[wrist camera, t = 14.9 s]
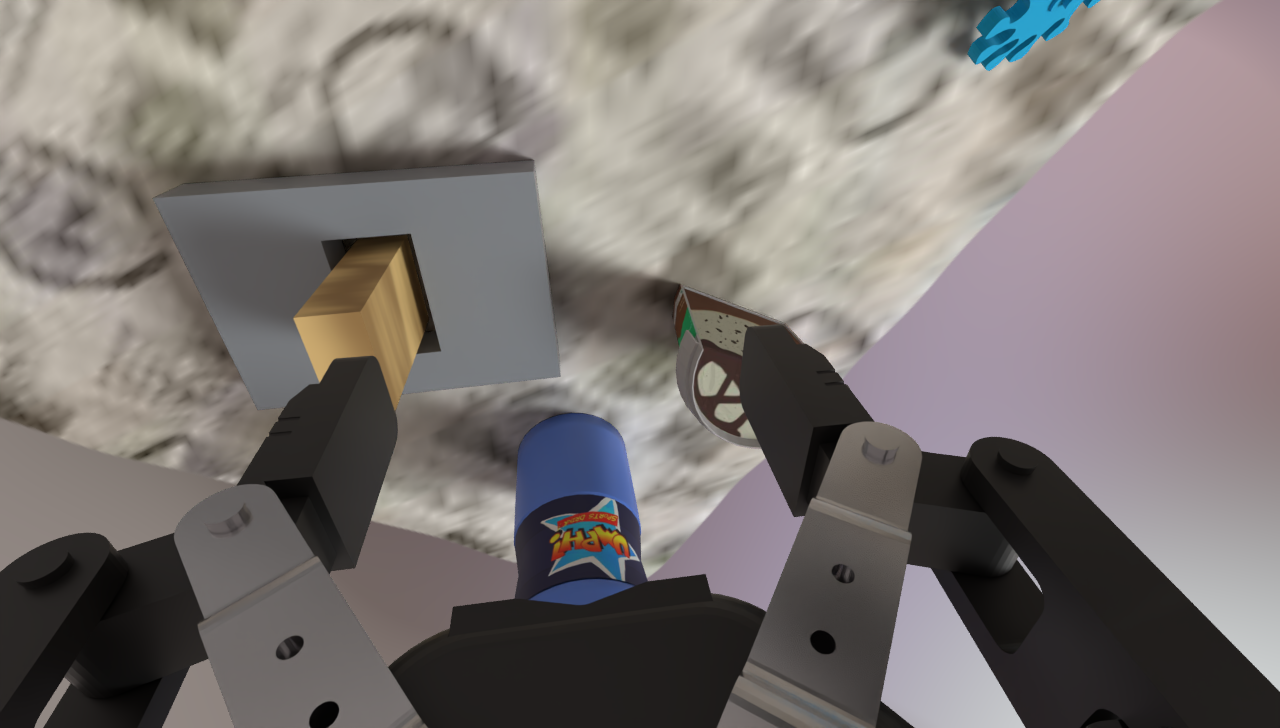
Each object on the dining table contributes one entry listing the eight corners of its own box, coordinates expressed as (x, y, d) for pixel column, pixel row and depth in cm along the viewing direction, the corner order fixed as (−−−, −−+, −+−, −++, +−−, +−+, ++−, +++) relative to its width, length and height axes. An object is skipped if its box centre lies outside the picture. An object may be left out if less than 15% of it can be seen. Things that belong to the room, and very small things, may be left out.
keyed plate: (182, 184, 32) (152, 198, 30) (534, 160, 34) (533, 171, 32) (275, 385, 40) (257, 410, 37) (559, 355, 42) (560, 376, 39)
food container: (626, 347, 42) (648, 429, 34) (661, 276, 40) (694, 346, 31) (761, 390, 47) (810, 473, 38) (800, 329, 44) (862, 403, 35)
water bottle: (524, 405, 44) (510, 765, 23) (638, 418, 46) (721, 754, 25) (508, 492, 48) (485, 860, 27) (614, 500, 51) (666, 844, 30)
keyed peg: (384, 323, 38) (334, 420, 29) (357, 238, 35) (293, 317, 26) (429, 318, 39) (394, 413, 30) (407, 235, 36) (360, 311, 26)
